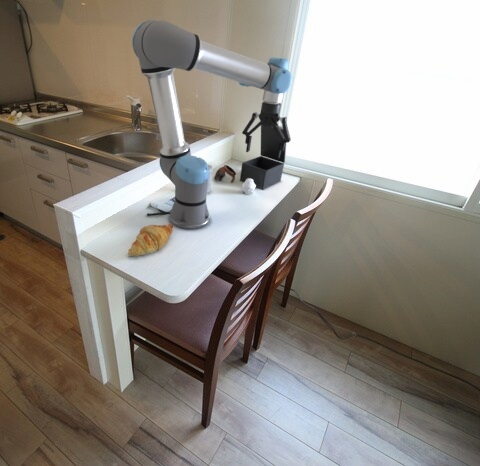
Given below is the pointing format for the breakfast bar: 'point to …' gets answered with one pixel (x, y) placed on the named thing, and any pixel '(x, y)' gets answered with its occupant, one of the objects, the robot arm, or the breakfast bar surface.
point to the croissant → (150, 239)
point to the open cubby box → (262, 171)
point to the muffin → (248, 186)
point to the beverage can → (209, 178)
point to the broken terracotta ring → (223, 171)
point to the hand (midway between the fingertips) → (262, 154)
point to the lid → (271, 143)
